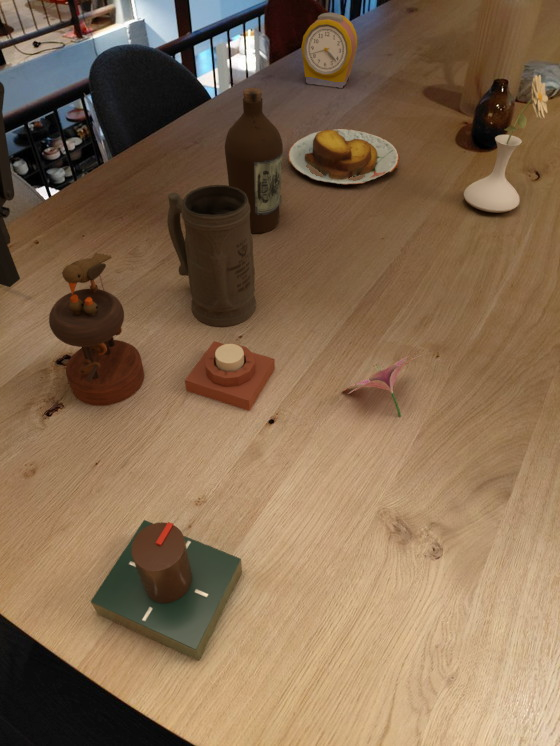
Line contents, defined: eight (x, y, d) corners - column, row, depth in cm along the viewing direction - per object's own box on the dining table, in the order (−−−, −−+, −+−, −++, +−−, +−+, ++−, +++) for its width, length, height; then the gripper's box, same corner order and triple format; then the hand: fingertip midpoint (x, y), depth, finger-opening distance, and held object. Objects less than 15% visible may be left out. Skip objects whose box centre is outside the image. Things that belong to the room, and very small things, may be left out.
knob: (177, 610, 56) (167, 577, 51) (133, 592, 57) (120, 558, 52) (200, 566, 60) (193, 530, 54) (158, 549, 61) (148, 513, 56)
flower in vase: (493, 223, 115) (533, 93, 97) (450, 201, 121) (481, 75, 104) (533, 205, 120) (578, 79, 103) (490, 184, 127) (525, 62, 109)
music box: (78, 347, 88) (54, 233, 74) (151, 351, 88) (141, 240, 74) (52, 423, 77) (18, 307, 63) (135, 427, 78) (119, 313, 64)
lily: (423, 381, 85) (406, 324, 81) (450, 417, 74) (431, 352, 70) (347, 409, 86) (327, 353, 82) (362, 447, 75) (340, 385, 71)
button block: (186, 390, 81) (183, 371, 79) (214, 351, 87) (212, 331, 85) (249, 411, 79) (248, 391, 76) (274, 369, 85) (274, 349, 82)
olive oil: (218, 221, 115) (208, 90, 97) (256, 203, 120) (253, 75, 102) (254, 241, 109) (251, 107, 92) (292, 221, 115) (296, 91, 97)
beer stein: (270, 298, 97) (262, 186, 83) (241, 335, 90) (226, 220, 76) (193, 280, 102) (173, 172, 88) (160, 314, 95) (133, 203, 81)
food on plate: (417, 164, 134) (423, 136, 129) (350, 201, 121) (353, 172, 116) (335, 132, 146) (337, 106, 141) (266, 163, 133) (266, 135, 129)
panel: (96, 613, 59) (89, 600, 57) (148, 533, 66) (143, 518, 63) (199, 661, 56) (195, 649, 54) (242, 571, 62) (241, 557, 60)
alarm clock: (299, 84, 171) (301, 14, 158) (307, 75, 177) (310, 7, 164) (347, 90, 168) (354, 19, 155) (354, 81, 174) (360, 12, 161)
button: (210, 367, 80) (209, 358, 79) (223, 349, 82) (222, 340, 81) (236, 375, 79) (236, 366, 77) (248, 357, 81) (248, 348, 80)
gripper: (-77, -26, 44) (18, 238, 61) (-242, 13, 36) (-78, 308, 52) (-1, -17, 42) (76, 254, 59) (-156, 27, 34) (-14, 329, 50)
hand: (4, 279), depth 56 cm, fingers closed
